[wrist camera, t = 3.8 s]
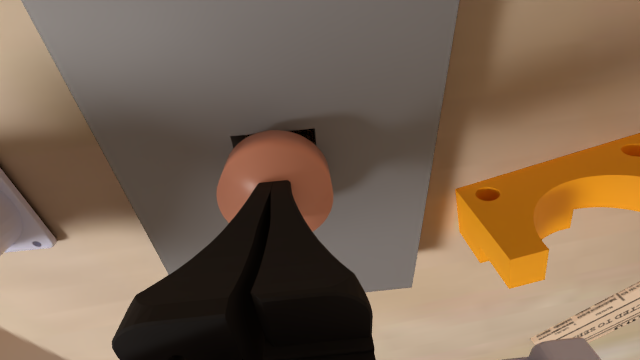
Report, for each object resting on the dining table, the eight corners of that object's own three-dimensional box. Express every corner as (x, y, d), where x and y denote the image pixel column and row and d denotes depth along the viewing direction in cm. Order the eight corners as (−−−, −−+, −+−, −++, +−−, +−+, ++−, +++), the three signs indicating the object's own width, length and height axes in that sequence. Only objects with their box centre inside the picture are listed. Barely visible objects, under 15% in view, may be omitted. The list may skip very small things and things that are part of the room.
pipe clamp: (458, 230, 23) (508, 305, 18) (454, 187, 21) (510, 260, 15) (624, 182, 22) (732, 249, 16) (639, 131, 19) (772, 189, 14)
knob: (244, 190, 18) (231, 246, 14) (224, 112, 15) (201, 155, 12) (326, 182, 18) (335, 236, 14) (321, 103, 15) (330, 143, 12)
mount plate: (199, 276, 24) (188, 310, 21) (30, -99, 11) (-45, -121, 9) (399, 255, 24) (411, 287, 22) (445, -130, 12) (485, -159, 9)
